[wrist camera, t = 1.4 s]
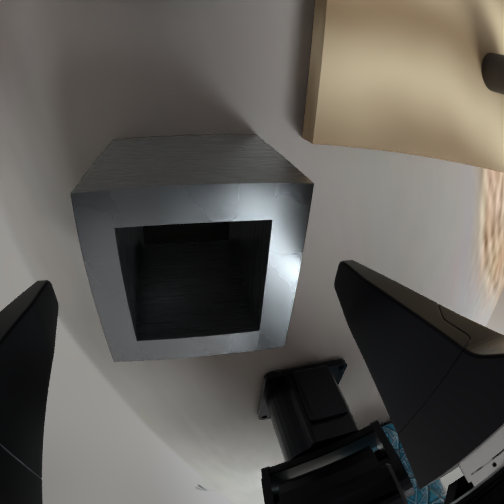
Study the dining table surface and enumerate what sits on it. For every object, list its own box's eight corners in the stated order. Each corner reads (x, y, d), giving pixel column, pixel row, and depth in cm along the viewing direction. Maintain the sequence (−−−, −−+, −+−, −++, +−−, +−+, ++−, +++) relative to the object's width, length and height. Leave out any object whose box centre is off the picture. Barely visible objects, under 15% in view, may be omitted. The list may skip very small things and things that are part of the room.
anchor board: (512, 171, 17) (572, 208, 12) (301, 137, 13) (381, 188, 8) (531, 30, 11) (596, 46, 6) (320, -92, 7) (397, -144, 2)
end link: (248, 256, 16) (284, 346, 11) (126, 263, 15) (113, 361, 10) (257, 135, 13) (314, 183, 8) (112, 139, 12) (70, 193, 7)
